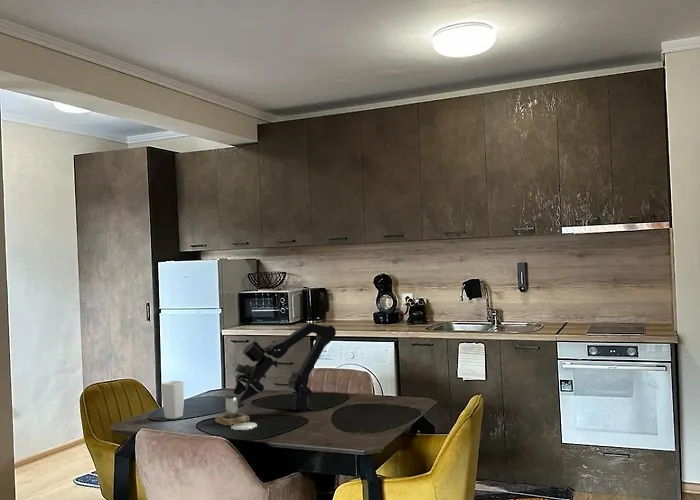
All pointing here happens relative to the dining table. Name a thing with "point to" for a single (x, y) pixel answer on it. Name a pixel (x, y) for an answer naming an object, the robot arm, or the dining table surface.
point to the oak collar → (226, 422)
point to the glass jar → (231, 406)
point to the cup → (173, 399)
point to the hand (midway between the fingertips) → (236, 399)
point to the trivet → (244, 426)
